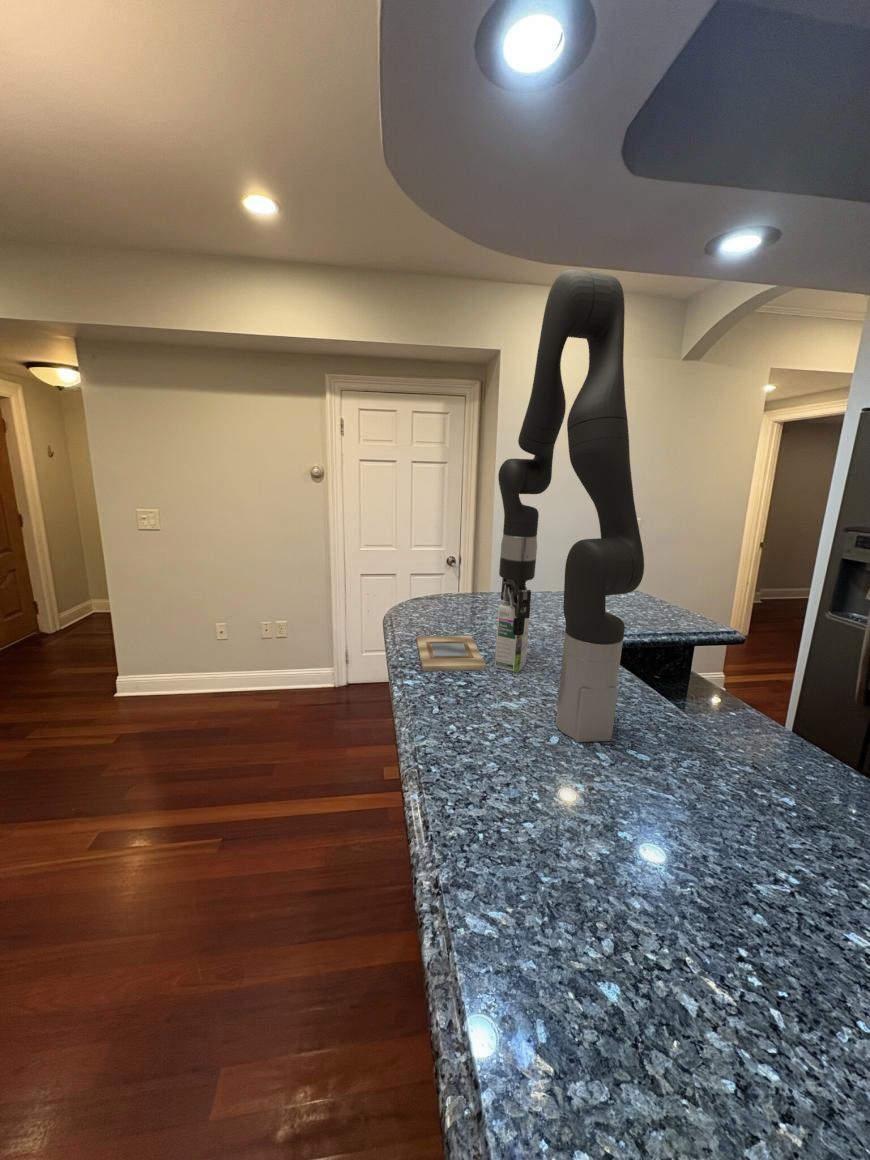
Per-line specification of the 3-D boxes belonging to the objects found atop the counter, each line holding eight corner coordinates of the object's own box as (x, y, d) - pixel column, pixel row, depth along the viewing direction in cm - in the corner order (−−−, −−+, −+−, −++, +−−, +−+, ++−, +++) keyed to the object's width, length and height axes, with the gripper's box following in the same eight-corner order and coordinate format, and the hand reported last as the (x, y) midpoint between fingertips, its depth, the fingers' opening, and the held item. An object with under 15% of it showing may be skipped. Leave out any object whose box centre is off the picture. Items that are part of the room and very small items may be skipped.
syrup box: (493, 667, 107) (497, 605, 103) (502, 658, 112) (506, 599, 108) (518, 673, 104) (523, 609, 101) (526, 664, 109) (531, 603, 106)
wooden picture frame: (486, 670, 105) (486, 664, 105) (422, 671, 104) (422, 665, 103) (470, 640, 123) (471, 635, 122) (416, 640, 121) (416, 635, 121)
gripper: (546, 563, 95) (539, 639, 100) (525, 549, 109) (519, 616, 113) (509, 562, 95) (504, 639, 99) (493, 549, 108) (488, 617, 112)
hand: (512, 627), depth 106 cm, fingers open, 8 cm apart
